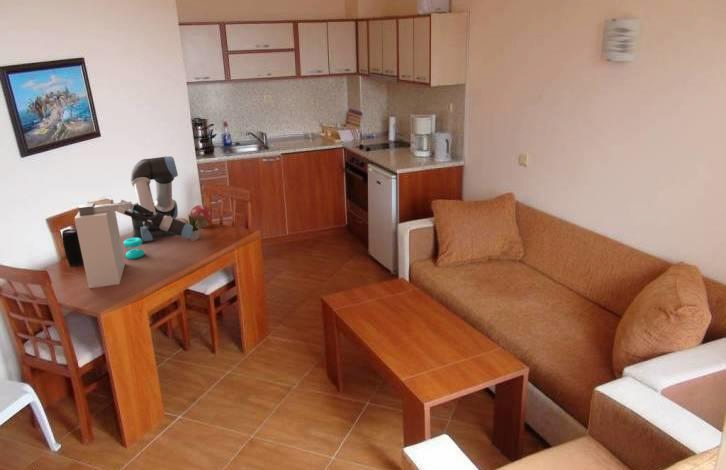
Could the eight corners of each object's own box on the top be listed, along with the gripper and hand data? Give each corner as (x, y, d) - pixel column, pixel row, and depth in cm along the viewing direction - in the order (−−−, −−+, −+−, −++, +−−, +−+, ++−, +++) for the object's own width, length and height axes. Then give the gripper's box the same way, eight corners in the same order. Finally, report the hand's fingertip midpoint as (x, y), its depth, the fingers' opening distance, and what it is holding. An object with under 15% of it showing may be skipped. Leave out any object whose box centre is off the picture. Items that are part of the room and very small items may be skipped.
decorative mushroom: (215, 228, 363) (212, 205, 359) (194, 232, 357) (191, 209, 352) (210, 223, 374) (207, 201, 370) (189, 226, 368) (186, 204, 364)
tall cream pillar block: (125, 263, 307) (112, 198, 296) (119, 284, 280) (105, 213, 268) (97, 267, 304) (84, 201, 292) (88, 288, 276) (73, 216, 265)
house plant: (213, 237, 345) (210, 212, 340) (196, 244, 334) (192, 218, 329) (197, 234, 352) (193, 209, 347) (179, 240, 341) (176, 215, 336)
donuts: (129, 236, 320) (145, 237, 318) (132, 253, 324) (148, 253, 322) (119, 242, 311) (135, 243, 309) (122, 259, 314) (138, 259, 312)
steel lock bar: (132, 206, 282) (131, 198, 281) (131, 210, 275) (129, 202, 274) (82, 211, 276) (81, 203, 275) (80, 215, 269) (78, 207, 267)
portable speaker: (88, 261, 314) (82, 227, 307) (79, 267, 305) (72, 233, 299) (74, 261, 314) (67, 227, 308) (64, 267, 305) (57, 233, 299)
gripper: (165, 208, 295) (124, 192, 287) (163, 221, 273) (119, 204, 264) (159, 221, 296) (118, 206, 288) (157, 235, 274) (113, 219, 265)
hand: (119, 205), depth 276 cm, fingers open, 13 cm apart
